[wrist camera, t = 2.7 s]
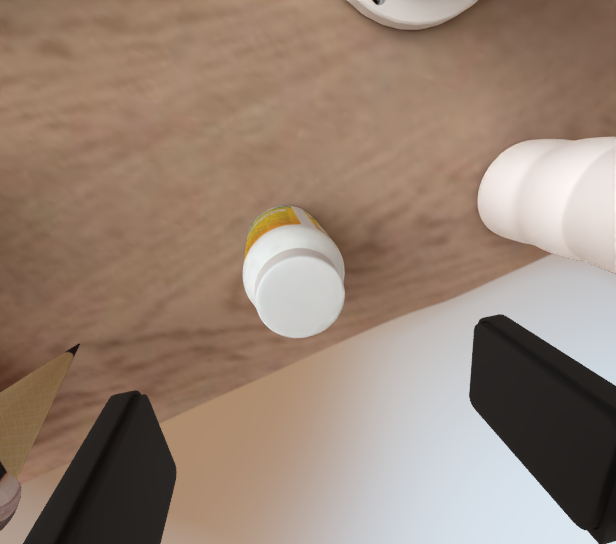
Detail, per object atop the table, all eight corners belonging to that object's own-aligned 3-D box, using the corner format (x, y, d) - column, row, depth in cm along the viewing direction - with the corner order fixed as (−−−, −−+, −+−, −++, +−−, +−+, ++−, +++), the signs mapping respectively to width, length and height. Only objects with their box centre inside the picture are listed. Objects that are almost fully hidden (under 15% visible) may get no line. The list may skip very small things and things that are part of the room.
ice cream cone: (22, 358, 23) (-347, 682, 9) (49, 295, 21) (-331, 557, 8) (104, 385, 24) (-94, 690, 11) (133, 328, 23) (-48, 591, 9)
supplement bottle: (331, 217, 22) (380, 260, 14) (307, 283, 24) (337, 361, 15) (258, 193, 21) (259, 224, 12) (237, 265, 23) (226, 339, 14)
